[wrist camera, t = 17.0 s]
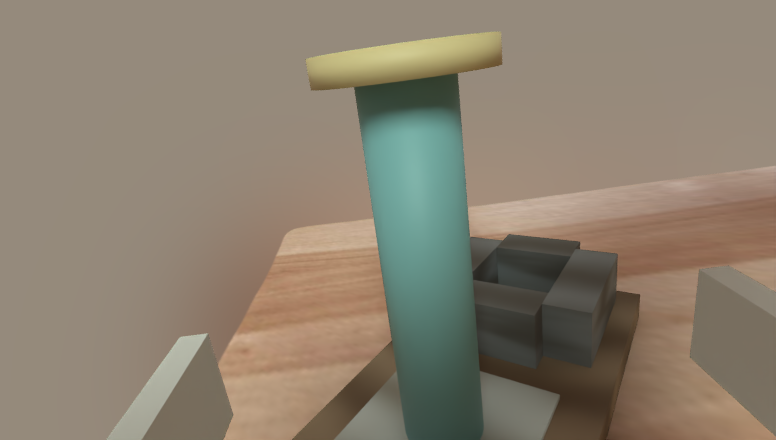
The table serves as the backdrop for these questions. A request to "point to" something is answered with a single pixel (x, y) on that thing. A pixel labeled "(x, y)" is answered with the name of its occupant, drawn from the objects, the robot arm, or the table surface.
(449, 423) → the disc-capped post
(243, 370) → the table surface
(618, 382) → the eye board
